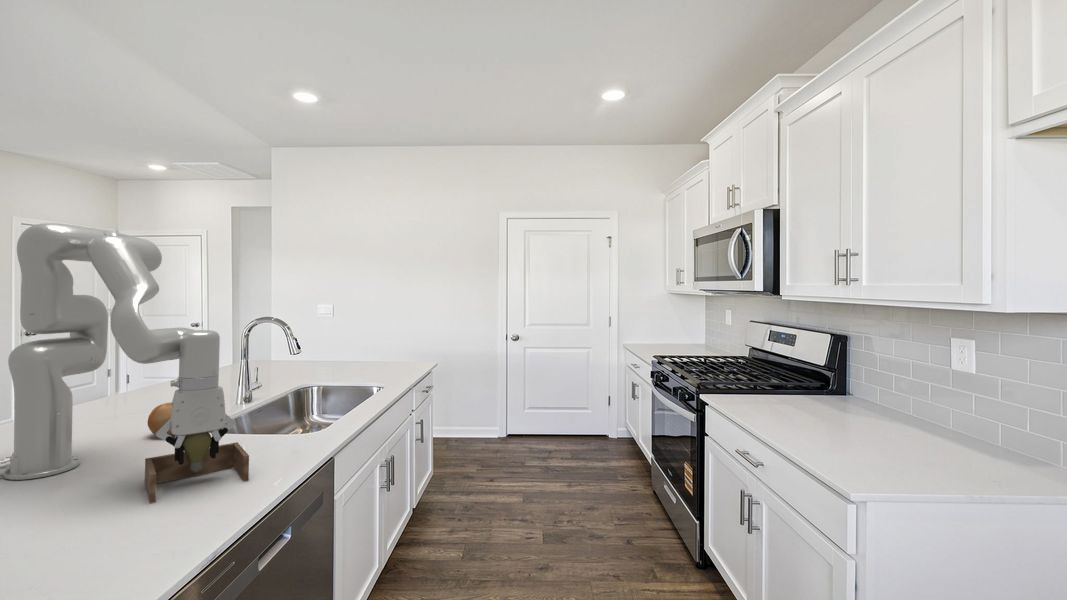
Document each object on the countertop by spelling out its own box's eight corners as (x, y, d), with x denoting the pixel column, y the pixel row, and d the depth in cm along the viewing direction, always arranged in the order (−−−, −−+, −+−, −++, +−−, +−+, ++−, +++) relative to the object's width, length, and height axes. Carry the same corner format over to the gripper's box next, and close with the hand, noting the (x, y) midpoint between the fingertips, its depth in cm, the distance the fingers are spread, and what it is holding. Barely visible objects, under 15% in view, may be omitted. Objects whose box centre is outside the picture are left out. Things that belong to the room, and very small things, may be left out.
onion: (185, 428, 143) (186, 397, 143) (191, 436, 136) (192, 403, 136) (145, 434, 136) (146, 401, 136) (149, 443, 129) (150, 408, 129)
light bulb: (195, 478, 102) (196, 434, 102) (175, 475, 103) (175, 432, 103) (217, 468, 108) (217, 427, 107) (197, 465, 109) (198, 425, 108)
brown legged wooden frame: (149, 503, 94) (150, 475, 94) (144, 484, 103) (145, 458, 103) (248, 480, 107) (249, 455, 107) (236, 465, 116) (237, 442, 116)
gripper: (152, 390, 96) (150, 474, 97) (245, 381, 108) (243, 456, 109) (149, 384, 102) (147, 463, 102) (238, 376, 114) (236, 447, 114)
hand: (196, 459), depth 105 cm, fingers closed on light bulb, 5 cm apart
